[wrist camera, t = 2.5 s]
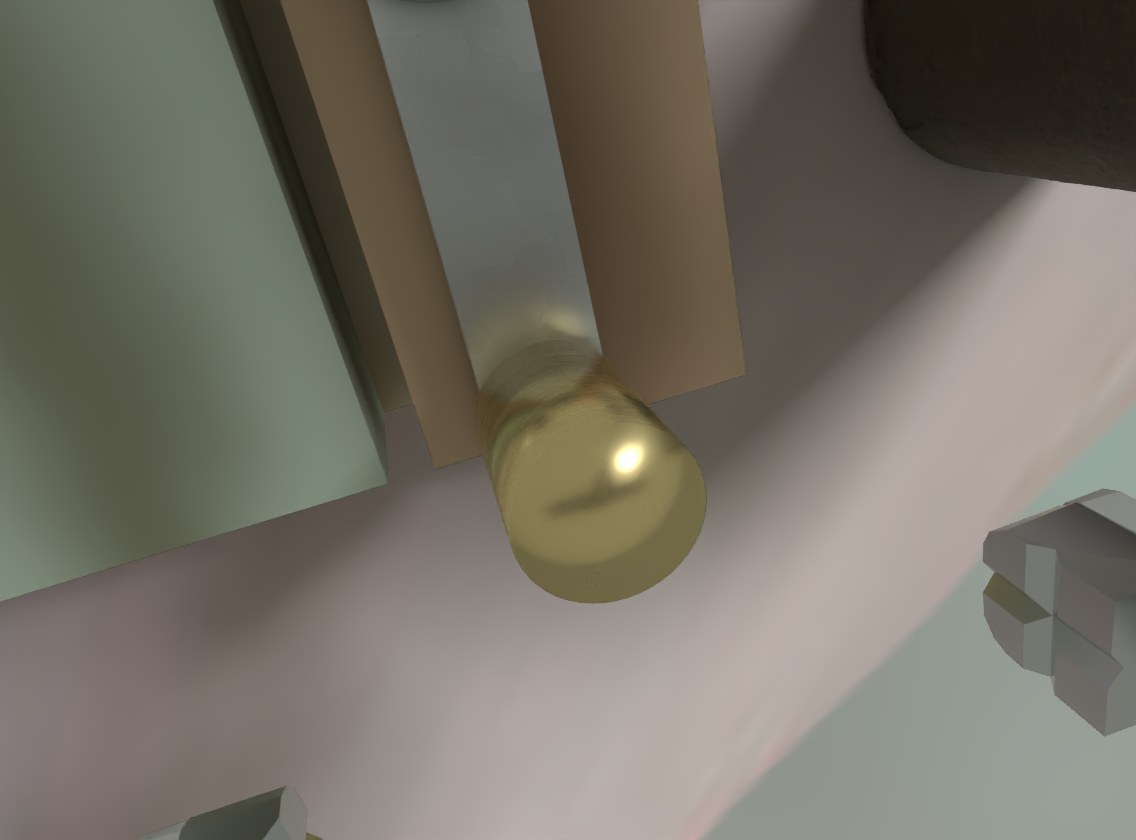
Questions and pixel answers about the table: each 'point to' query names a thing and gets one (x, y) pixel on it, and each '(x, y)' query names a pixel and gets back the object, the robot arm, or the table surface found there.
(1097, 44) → the pillar candle
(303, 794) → the table surface
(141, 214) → the door board
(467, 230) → the bar
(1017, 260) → the table surface
